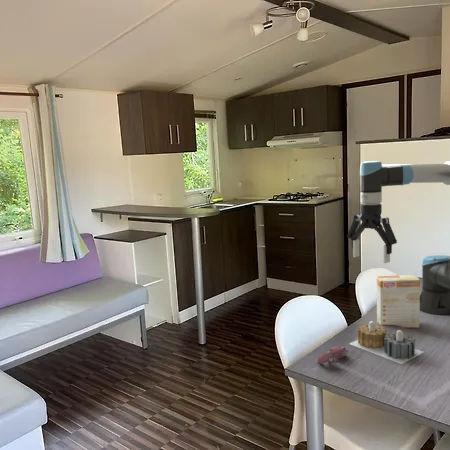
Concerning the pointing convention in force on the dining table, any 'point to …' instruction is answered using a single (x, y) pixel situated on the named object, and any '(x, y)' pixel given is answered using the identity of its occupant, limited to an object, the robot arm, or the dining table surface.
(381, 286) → the coffeecake box
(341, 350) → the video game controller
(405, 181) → the robot arm
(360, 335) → the wooden gear
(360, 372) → the dining table surface
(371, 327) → the gear board
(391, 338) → the gear
